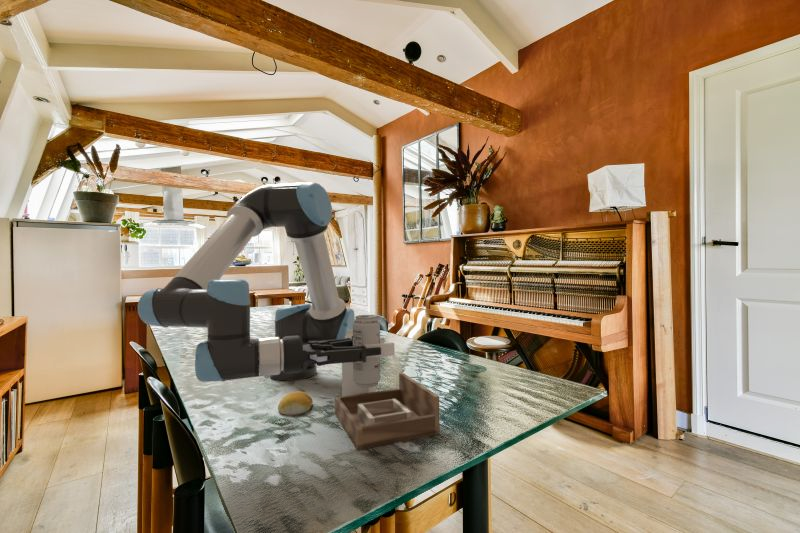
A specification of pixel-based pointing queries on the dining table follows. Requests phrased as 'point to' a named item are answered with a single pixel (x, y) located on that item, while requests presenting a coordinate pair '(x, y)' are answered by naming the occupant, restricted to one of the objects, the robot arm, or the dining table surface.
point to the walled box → (389, 414)
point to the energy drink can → (363, 334)
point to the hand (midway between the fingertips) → (388, 345)
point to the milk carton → (351, 377)
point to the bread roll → (295, 403)
